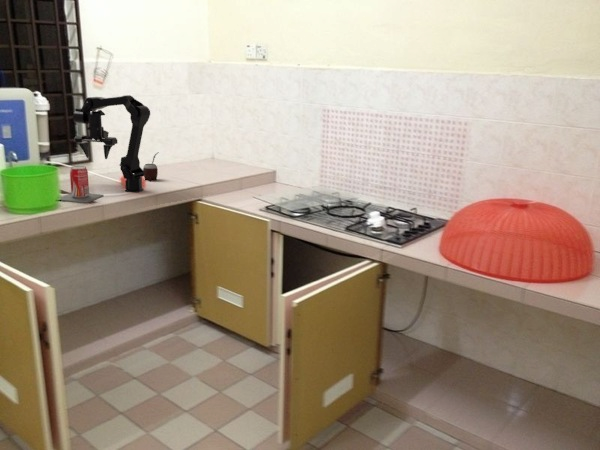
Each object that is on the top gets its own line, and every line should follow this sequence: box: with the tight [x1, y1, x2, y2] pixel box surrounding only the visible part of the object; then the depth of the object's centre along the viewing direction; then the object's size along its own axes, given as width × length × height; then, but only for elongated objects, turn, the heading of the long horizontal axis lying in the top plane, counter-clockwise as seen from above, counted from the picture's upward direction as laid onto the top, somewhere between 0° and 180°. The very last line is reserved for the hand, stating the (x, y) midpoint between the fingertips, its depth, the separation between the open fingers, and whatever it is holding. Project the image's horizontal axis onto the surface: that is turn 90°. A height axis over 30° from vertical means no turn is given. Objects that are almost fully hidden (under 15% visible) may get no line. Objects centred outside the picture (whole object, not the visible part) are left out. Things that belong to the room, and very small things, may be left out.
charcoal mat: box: [60, 192, 104, 204], centre depth 236 cm, size 14×14×1 cm
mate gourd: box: [142, 152, 160, 182], centre depth 275 cm, size 8×8×15 cm
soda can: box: [69, 165, 90, 198], centre depth 234 cm, size 7×7×13 cm
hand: (97, 158), depth 257 cm, fingers open, 9 cm apart
